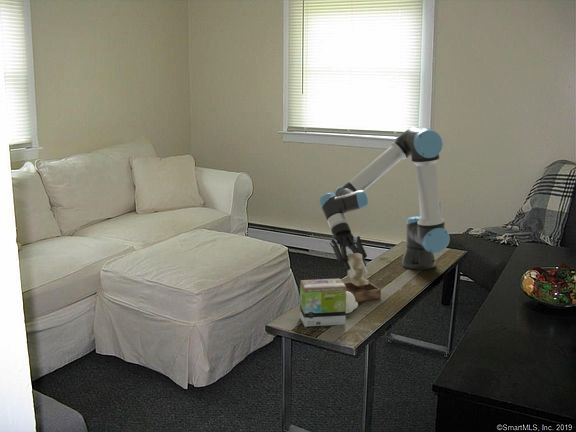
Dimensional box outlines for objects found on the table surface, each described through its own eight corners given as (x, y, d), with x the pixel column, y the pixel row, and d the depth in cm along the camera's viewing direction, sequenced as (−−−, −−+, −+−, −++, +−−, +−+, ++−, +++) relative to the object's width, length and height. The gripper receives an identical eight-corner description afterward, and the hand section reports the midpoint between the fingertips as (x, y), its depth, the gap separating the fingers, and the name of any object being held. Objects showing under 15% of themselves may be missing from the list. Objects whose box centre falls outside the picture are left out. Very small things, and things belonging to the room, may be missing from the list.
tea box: (304, 328, 231) (304, 288, 228) (299, 318, 241) (299, 279, 238) (346, 325, 234) (346, 285, 230) (339, 315, 243) (339, 277, 240)
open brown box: (365, 289, 272) (365, 280, 271) (380, 298, 260) (380, 289, 260) (338, 292, 268) (338, 283, 267) (353, 302, 256) (353, 293, 255)
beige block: (357, 278, 268) (358, 252, 265) (368, 284, 261) (369, 257, 258) (347, 280, 265) (347, 254, 263) (357, 286, 258) (358, 259, 256)
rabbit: (330, 316, 242) (331, 285, 240) (322, 308, 251) (322, 278, 248) (361, 312, 246) (361, 282, 243) (351, 304, 254) (351, 274, 252)
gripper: (354, 229, 279) (375, 277, 268) (316, 234, 271) (336, 283, 260) (361, 219, 273) (382, 267, 262) (323, 224, 265) (343, 273, 254)
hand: (359, 275), depth 261 cm, fingers closed on beige block, 5 cm apart
